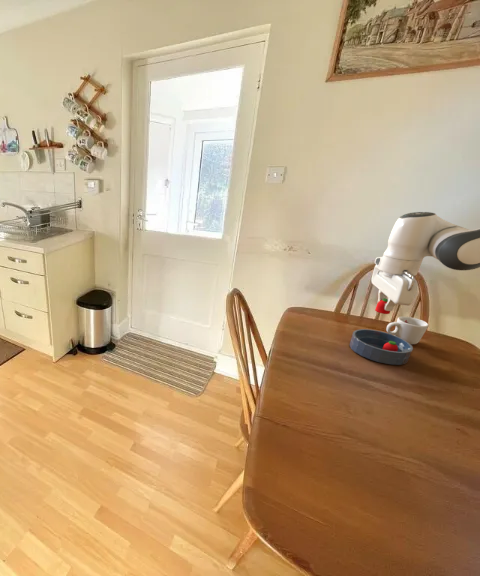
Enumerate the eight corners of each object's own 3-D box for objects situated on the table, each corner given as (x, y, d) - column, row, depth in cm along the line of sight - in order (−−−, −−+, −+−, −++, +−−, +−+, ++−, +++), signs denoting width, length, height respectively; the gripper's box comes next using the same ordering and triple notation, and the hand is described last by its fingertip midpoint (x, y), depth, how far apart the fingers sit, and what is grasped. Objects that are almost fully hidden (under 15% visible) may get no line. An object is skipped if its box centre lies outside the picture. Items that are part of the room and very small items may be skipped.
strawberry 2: (392, 351, 106) (397, 340, 104) (397, 357, 103) (402, 345, 101) (379, 349, 107) (383, 338, 106) (383, 355, 104) (388, 343, 103)
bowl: (395, 345, 110) (400, 333, 108) (417, 370, 97) (423, 356, 95) (343, 338, 116) (347, 326, 114) (357, 360, 102) (361, 347, 101)
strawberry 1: (381, 309, 103) (386, 296, 101) (392, 313, 100) (397, 301, 98) (372, 309, 103) (376, 297, 101) (382, 314, 99) (387, 302, 98)
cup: (389, 344, 111) (397, 324, 108) (376, 333, 118) (383, 314, 115) (426, 347, 109) (435, 327, 106) (410, 336, 116) (418, 317, 113)
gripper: (430, 277, 85) (412, 322, 91) (397, 258, 103) (383, 296, 108) (401, 275, 88) (385, 319, 93) (373, 256, 105) (361, 294, 110)
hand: (384, 306), depth 101 cm, fingers closed on strawberry 1, 3 cm apart
